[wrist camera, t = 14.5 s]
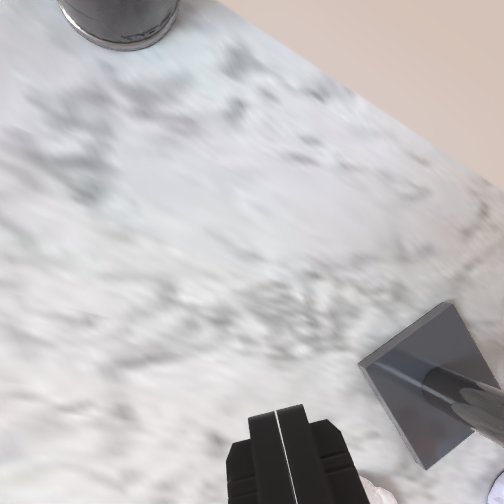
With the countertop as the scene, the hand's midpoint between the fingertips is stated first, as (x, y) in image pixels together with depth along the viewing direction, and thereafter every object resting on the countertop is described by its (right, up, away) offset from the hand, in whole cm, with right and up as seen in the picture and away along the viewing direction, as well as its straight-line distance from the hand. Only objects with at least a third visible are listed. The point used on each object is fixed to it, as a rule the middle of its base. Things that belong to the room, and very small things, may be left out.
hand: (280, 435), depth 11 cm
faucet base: (+16, -7, +28) cm, 33 cm away
